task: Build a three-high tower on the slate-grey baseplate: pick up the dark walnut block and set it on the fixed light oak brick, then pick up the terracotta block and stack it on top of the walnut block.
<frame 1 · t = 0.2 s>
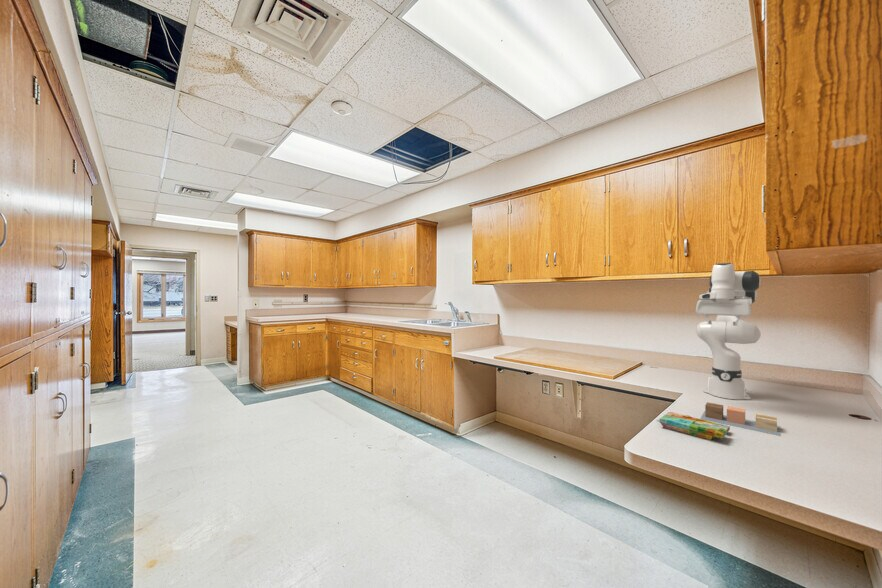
hand: (722, 325, 161), 39 cm above the table, tool pointing down, fingers open, 8 cm apart
terracotta block: (735, 421, 140), point 1 cm above the table, touching baseplate
walnut block: (714, 416, 145), point 1 cm above the table, touching baseplate
baseplate: (738, 425, 138), on the table
puzzle game: (693, 432, 132), on the table
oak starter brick: (766, 427, 133), resting on baseplate
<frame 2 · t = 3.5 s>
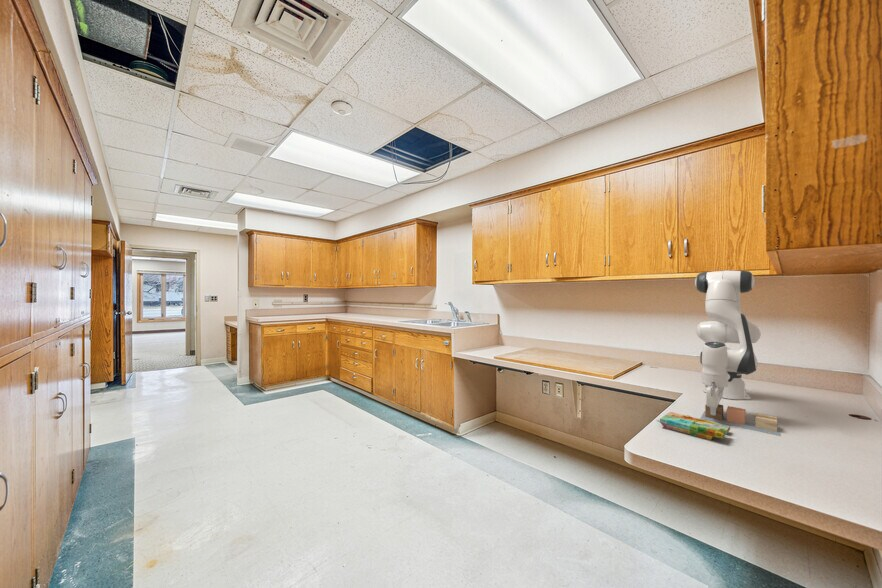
hand: (714, 412, 145), 3 cm above the table, tool pointing down, fingers closed on walnut block, 5 cm apart
walnut block: (714, 416, 145), point 1 cm above the table, touching baseplate, gripper
everything else where it was.
when the fingers open (8 cm above the table, at t = 8.5 s): walnut block drops 1 cm, resting on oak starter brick.
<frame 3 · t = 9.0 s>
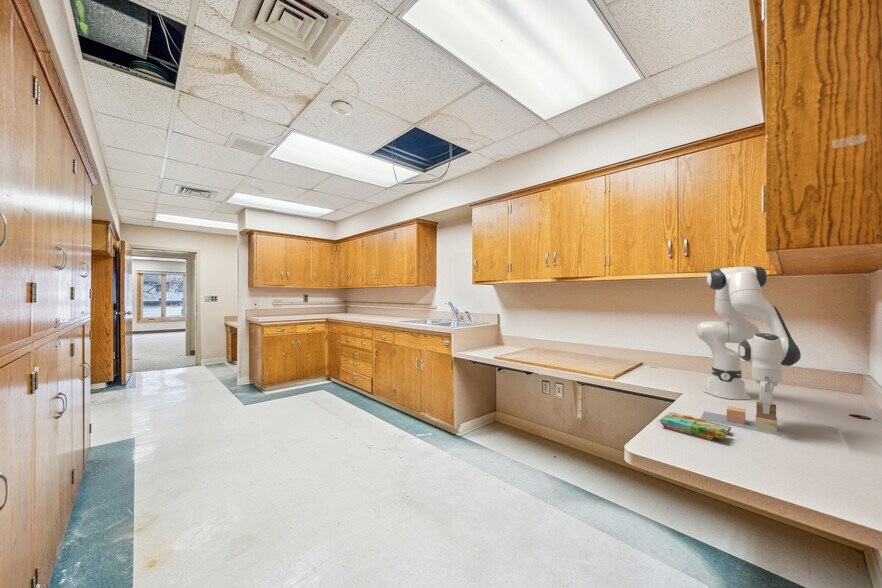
hand: (766, 410, 133), 8 cm above the table, tool pointing down, fingers open, 8 cm apart
walnut block: (766, 417, 134), point 5 cm above the table, touching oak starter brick
everything else where it was.
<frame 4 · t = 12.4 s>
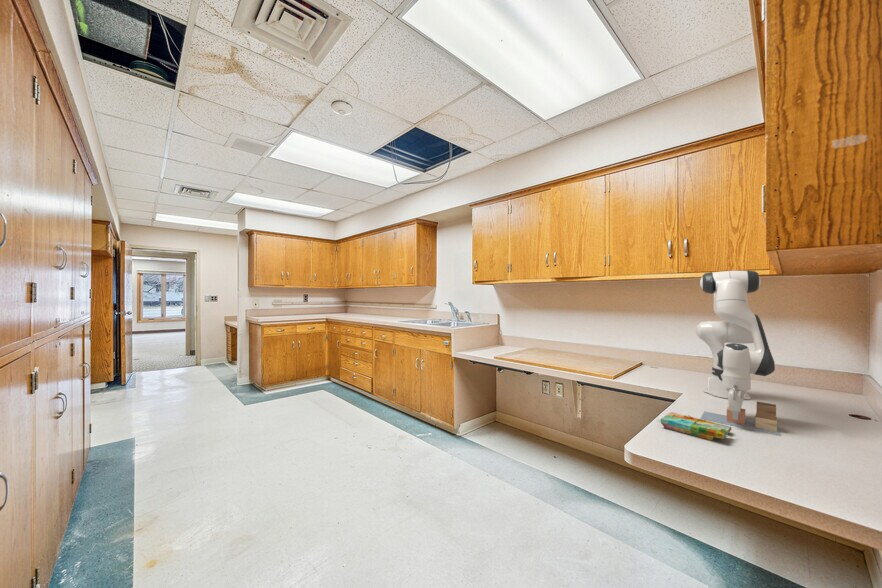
hand: (735, 417, 140), 3 cm above the table, tool pointing down, fingers closed on terracotta block, 5 cm apart
terracotta block: (735, 421, 140), point 1 cm above the table, touching baseplate, gripper
everything else where it was.
when the fingers open (13 cm above the table, at t = 17.0 s): terracotta block drops 1 cm, resting on walnut block.
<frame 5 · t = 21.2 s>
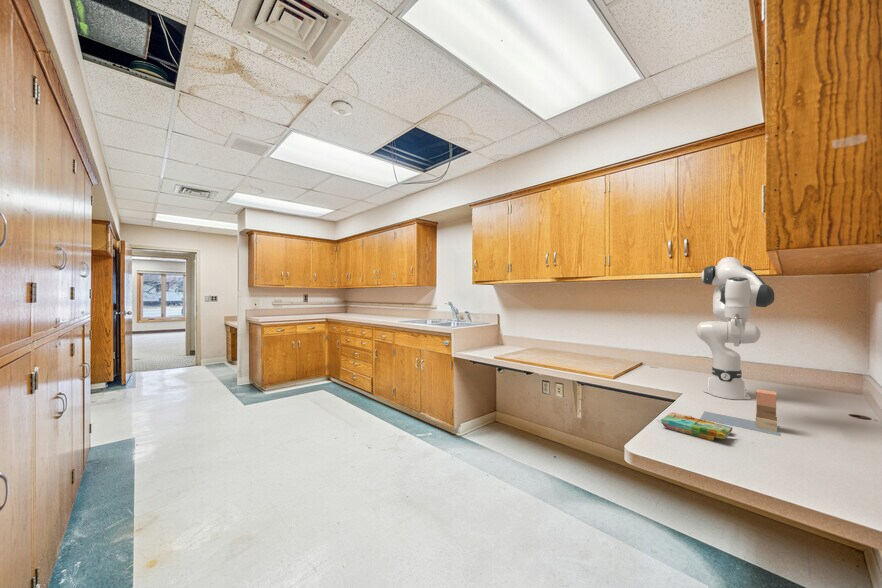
hand: (737, 345, 150), 31 cm above the table, tool pointing down, fingers open, 8 cm apart
terracotta block: (766, 404, 133), point 10 cm above the table, touching walnut block
walnut block: (766, 417, 134), point 5 cm above the table, touching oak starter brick, terracotta block
everything else where it was.
at the end: walnut block 0.1 cm off-centre on the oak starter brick, point 4.0 cm above the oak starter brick's base; terracotta block 0.1 cm off-centre on the walnut block, point 5.0 cm above the walnut block's base; terracotta block tilted 0° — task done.
